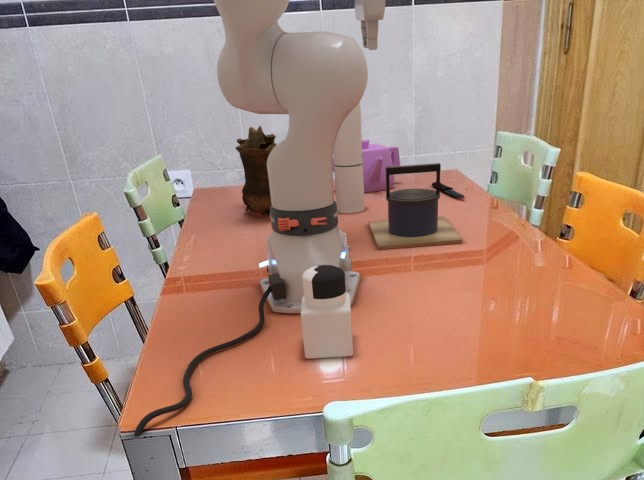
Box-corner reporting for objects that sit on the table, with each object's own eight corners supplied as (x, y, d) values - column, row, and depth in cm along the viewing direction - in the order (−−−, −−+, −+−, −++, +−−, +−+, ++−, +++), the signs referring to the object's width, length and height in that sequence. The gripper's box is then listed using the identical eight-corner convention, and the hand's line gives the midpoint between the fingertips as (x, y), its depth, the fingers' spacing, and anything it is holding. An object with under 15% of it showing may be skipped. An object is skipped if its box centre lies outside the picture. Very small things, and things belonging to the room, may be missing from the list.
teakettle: (403, 182, 190) (402, 135, 183) (382, 195, 178) (380, 145, 170) (350, 180, 196) (347, 134, 189) (326, 193, 183) (322, 144, 176)
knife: (430, 182, 183) (440, 180, 183) (431, 187, 184) (440, 185, 184) (459, 196, 166) (470, 195, 167) (459, 202, 167) (470, 200, 168)
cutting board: (461, 243, 138) (462, 239, 138) (378, 249, 137) (378, 245, 137) (443, 219, 155) (443, 216, 154) (368, 225, 154) (368, 221, 153)
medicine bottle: (352, 337, 101) (347, 259, 94) (353, 356, 95) (348, 275, 88) (306, 339, 101) (298, 262, 94) (305, 359, 95) (296, 279, 88)
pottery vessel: (288, 222, 159) (278, 132, 147) (243, 226, 158) (230, 135, 147) (285, 199, 179) (276, 118, 168) (245, 202, 178) (234, 121, 167)
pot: (444, 235, 141) (445, 168, 133) (390, 239, 140) (389, 172, 133) (434, 221, 151) (435, 158, 143) (383, 225, 150) (382, 162, 142)
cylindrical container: (365, 206, 169) (361, 95, 154) (363, 213, 163) (358, 98, 149) (338, 206, 170) (331, 96, 155) (335, 213, 164) (327, 100, 149)
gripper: (345, -36, 129) (349, 47, 137) (354, -44, 112) (358, 52, 120) (377, -38, 129) (379, 46, 137) (390, -46, 112) (392, 50, 120)
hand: (369, 48), depth 128 cm, fingers open, 8 cm apart
